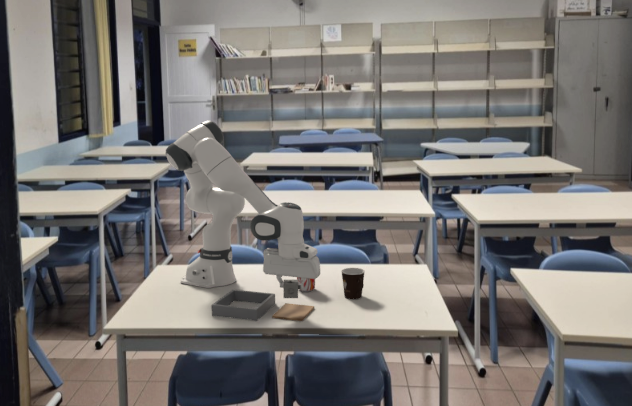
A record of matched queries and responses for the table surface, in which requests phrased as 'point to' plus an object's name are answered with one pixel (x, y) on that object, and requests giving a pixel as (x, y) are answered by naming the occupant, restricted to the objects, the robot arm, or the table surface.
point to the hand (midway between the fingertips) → (291, 288)
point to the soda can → (307, 284)
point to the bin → (254, 314)
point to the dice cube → (290, 288)
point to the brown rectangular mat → (293, 312)
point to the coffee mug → (353, 282)
